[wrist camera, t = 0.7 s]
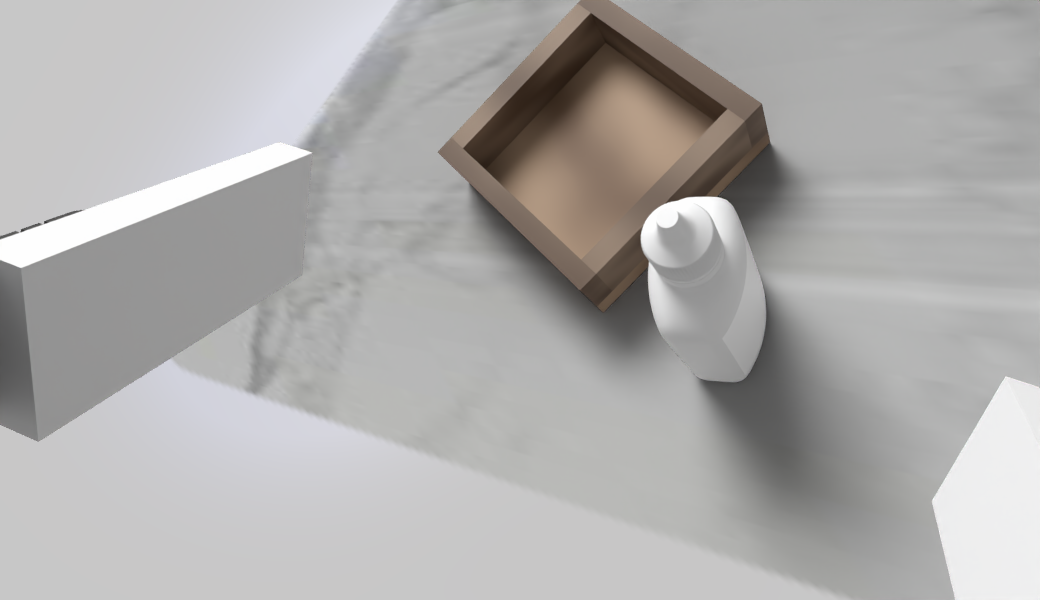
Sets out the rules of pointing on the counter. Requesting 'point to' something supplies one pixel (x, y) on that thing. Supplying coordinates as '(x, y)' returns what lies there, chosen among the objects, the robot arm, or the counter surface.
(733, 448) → the counter surface
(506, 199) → the walnut socket block
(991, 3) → the counter surface
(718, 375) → the eye dropper bottle
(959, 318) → the counter surface
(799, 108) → the counter surface
